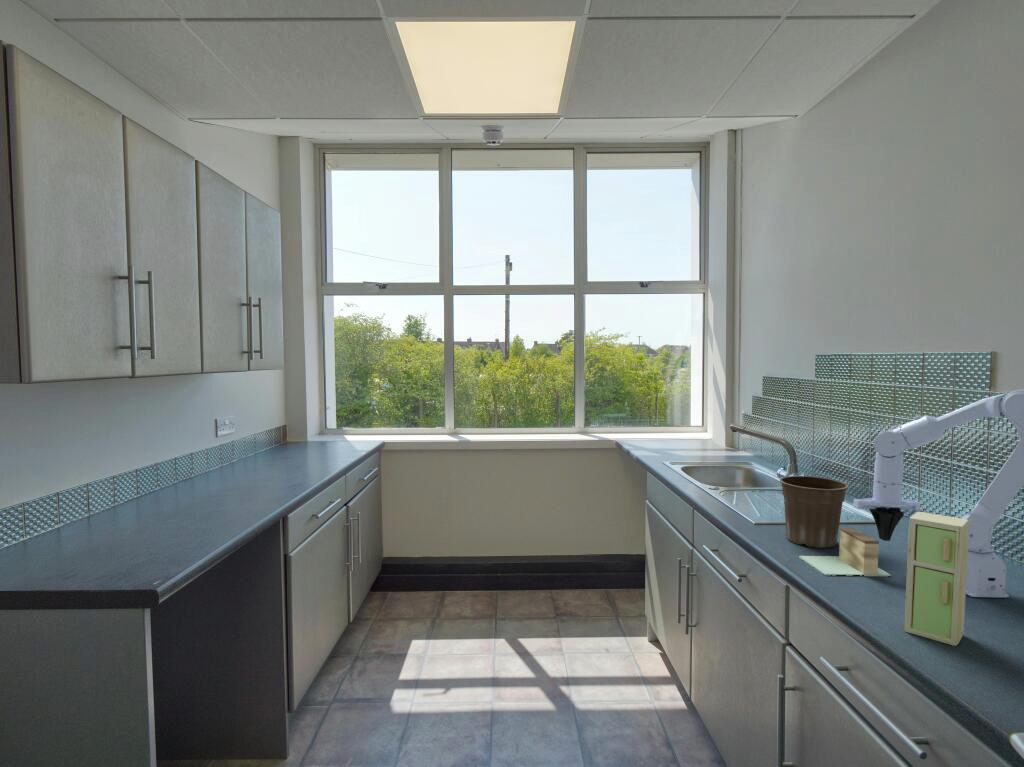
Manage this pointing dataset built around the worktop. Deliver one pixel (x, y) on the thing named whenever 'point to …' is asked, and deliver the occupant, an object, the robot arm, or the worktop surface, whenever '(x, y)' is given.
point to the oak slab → (859, 551)
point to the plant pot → (812, 509)
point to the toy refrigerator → (936, 577)
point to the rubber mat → (836, 566)
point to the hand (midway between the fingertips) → (884, 539)
